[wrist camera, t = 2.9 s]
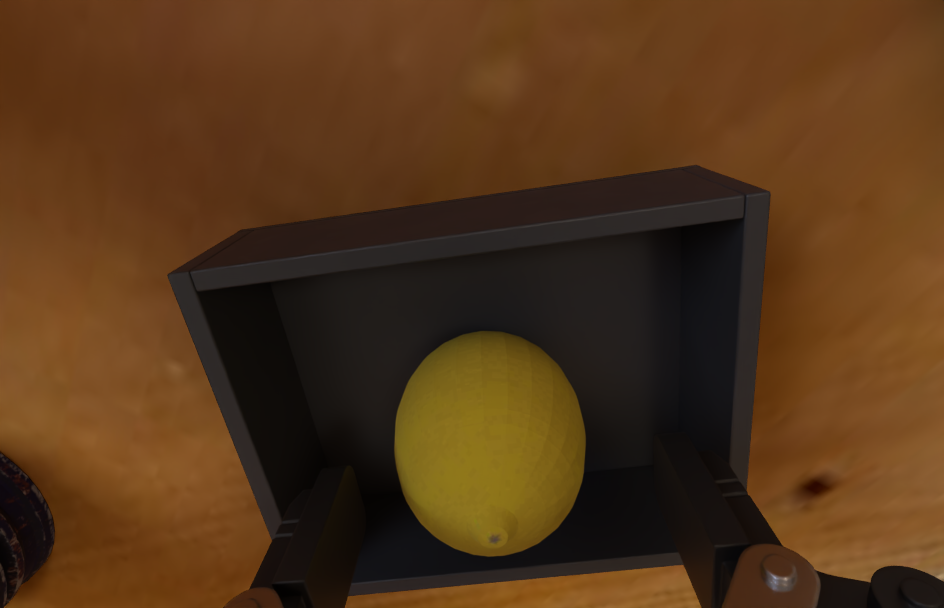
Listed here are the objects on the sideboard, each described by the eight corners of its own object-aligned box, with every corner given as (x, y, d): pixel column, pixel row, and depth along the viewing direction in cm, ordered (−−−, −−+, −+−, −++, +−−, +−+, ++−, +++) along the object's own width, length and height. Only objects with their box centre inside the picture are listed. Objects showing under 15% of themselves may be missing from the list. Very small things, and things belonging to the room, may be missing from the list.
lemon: (497, 449, 20) (510, 653, 13) (382, 374, 19) (323, 554, 12) (593, 352, 19) (669, 524, 11) (473, 263, 17) (471, 392, 10)
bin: (329, 504, 22) (295, 601, 18) (240, 229, 17) (165, 274, 13) (689, 467, 21) (741, 559, 17) (697, 164, 16) (772, 191, 12)
